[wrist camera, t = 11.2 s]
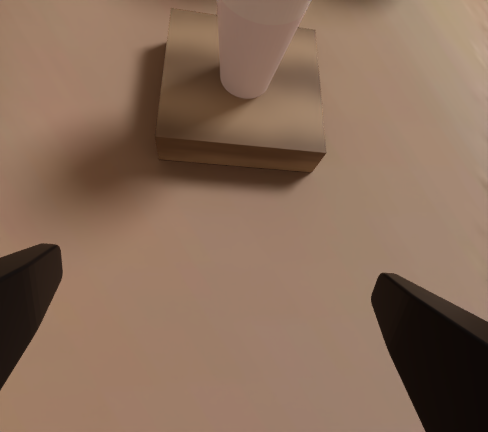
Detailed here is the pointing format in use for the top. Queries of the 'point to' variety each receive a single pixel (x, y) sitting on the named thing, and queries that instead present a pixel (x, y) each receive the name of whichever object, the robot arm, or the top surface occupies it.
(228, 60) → the smoothie
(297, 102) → the walnut plinth
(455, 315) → the robot arm
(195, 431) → the top surface
